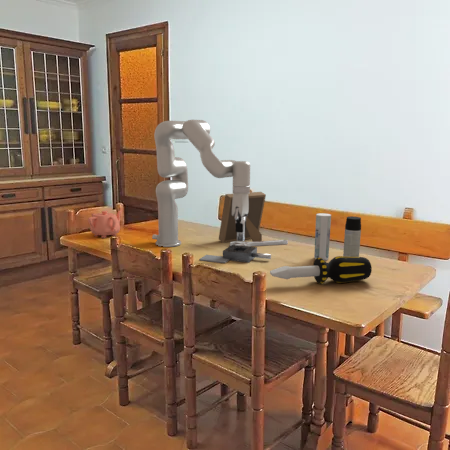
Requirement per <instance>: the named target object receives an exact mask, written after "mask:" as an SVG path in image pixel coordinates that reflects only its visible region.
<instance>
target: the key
mask: <svg viewBox="0 0 450 450" xmlns="http://www.w3.org/2000/svg"><path fill="white" fill-rule="evenodd" d="M239 216H240V215H239ZM245 216H248V214H245V215H244V216H243V217H242V223H243V232H242V233H241V232H237V241H240V242H245V241H246V240H245Z"/></svg>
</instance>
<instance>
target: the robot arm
mask: <svg viewBox="0 0 450 450" xmlns="http://www.w3.org/2000/svg"><path fill="white" fill-rule="evenodd" d="M210 133H211V126H210V124H209V122H207V121H206V120H203V119H188V120H186V121H184V120H165V121H162V122H160V123H158V124H157V126H156V127H155V130H154V133H153V134H154V136H153V137H154V142H155V148H156V149H155V150H156V165H157V173H158V175H159V177H161V178H171V179H167V180H163V181H160V182H159V183H158V184H157V185H156V186H155V187H156V188H155V196H156V201H157V213H158V214H157V215H158V217H157V221H158V234H152V237H151V238H152V240H156V241H155V246H157V245H158V247H161V246H163V247H164V248H171V247H178V246H180V245H181V244H182V241H181V240H179V215H178V214H179V212H178V211H179V209H178V204H177V203H176V200H177V199H182V198H184V197H186V196H187V195H188V192H189V177H188V176H189V175H188V166H187V163H186V161H185V160H184V159H183V158H181V157H178V156H175V155H176V154H175V147H174V145H173V143H172V141H171V140H188V141H189V142H190V143H191V145H192V146H194V148H195V149H196V150H197V151H198V152H199V157H200V160H201V163H202V165H203V167H204V168H205V169H206V171H208V172H209V174H211V175H212V176H213V177H214V178H216V179H223V178H232V194H233V200H232V216H235V220H236V221H235V223H236V232H241V233H242V232H243V223H242V217H243V216H244V215H245V214H248V211H249V198H248V194H250V192H251V163H250V162H249V161H246V160H240V161H239V160H233V159H223V160H220V159H219V158H218V157H217V156H216V155H215V154H214V153H215V152H213V149H214V148H215V143H216V142H215V139H214V138H213V137H212V136H211V134H210ZM239 215H240V216H239ZM245 230H246V216H245Z"/></svg>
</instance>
